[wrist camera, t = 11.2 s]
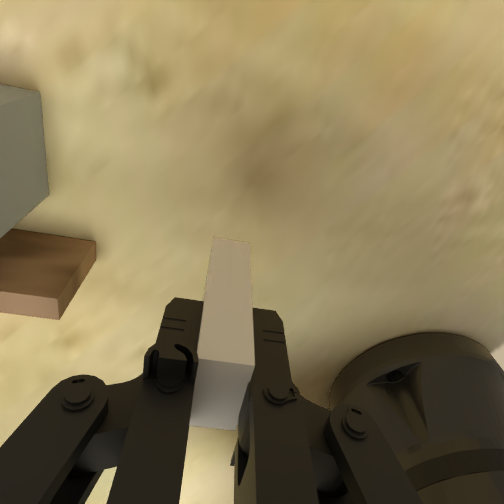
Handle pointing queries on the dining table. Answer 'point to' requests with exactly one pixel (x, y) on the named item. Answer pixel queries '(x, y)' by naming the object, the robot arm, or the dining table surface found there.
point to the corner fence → (41, 272)
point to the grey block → (21, 155)
